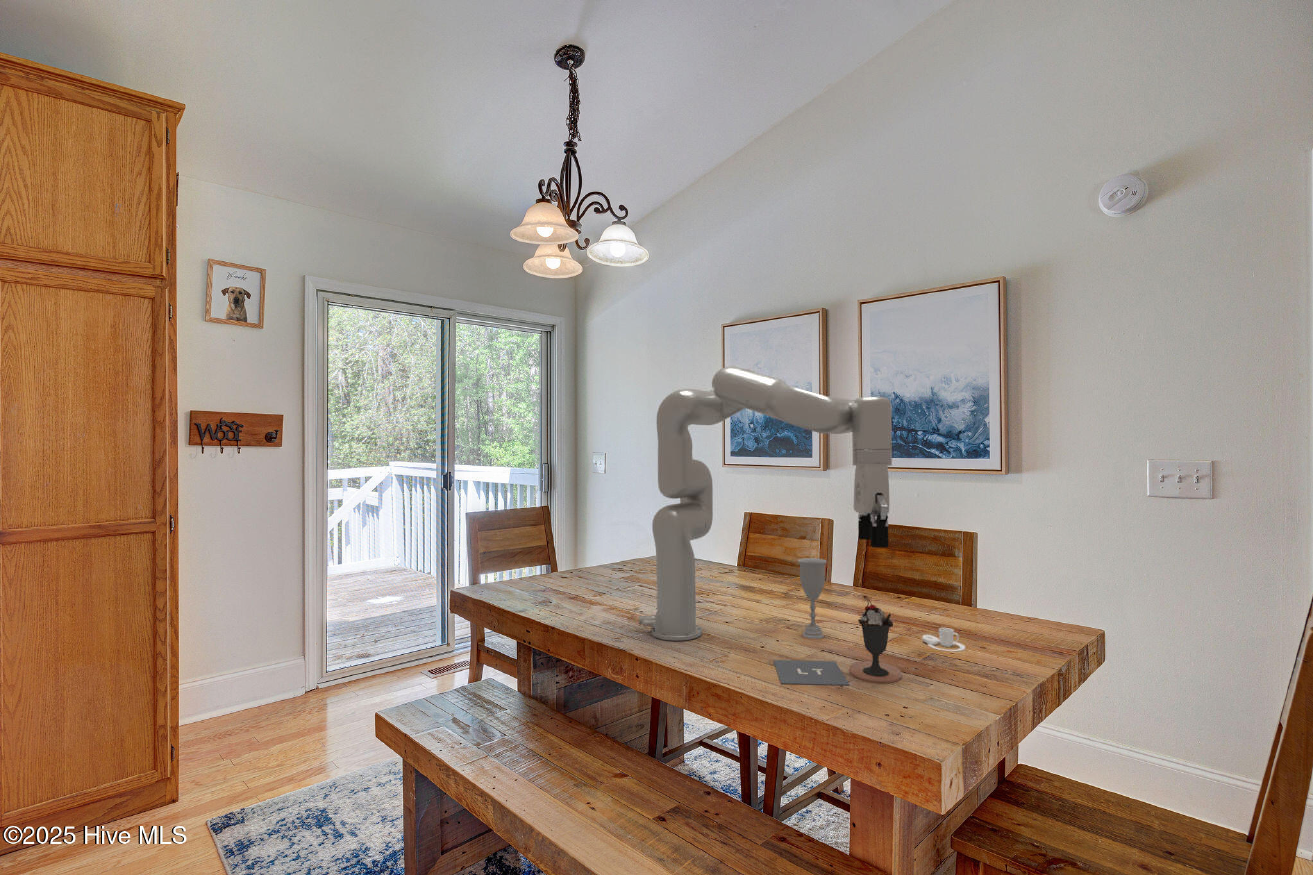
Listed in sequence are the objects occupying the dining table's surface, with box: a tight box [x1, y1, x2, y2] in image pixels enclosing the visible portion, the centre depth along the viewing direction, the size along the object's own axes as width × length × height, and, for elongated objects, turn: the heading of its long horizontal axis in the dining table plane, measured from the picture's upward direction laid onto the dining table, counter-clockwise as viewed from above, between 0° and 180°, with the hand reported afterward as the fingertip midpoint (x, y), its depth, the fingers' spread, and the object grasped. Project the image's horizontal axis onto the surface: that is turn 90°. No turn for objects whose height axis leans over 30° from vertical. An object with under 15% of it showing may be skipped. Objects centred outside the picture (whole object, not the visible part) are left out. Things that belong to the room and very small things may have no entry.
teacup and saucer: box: [921, 627, 966, 652], centre depth 145 cm, size 9×8×4 cm
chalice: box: [797, 557, 828, 640], centre depth 153 cm, size 7×7×18 cm
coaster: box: [848, 660, 903, 684], centre depth 128 cm, size 10×10×1 cm
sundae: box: [857, 595, 894, 677], centre depth 126 cm, size 7×7×15 cm
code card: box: [773, 659, 851, 686], centre depth 129 cm, size 13×13×1 cm
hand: (872, 543), depth 128 cm, fingers open, 9 cm apart
